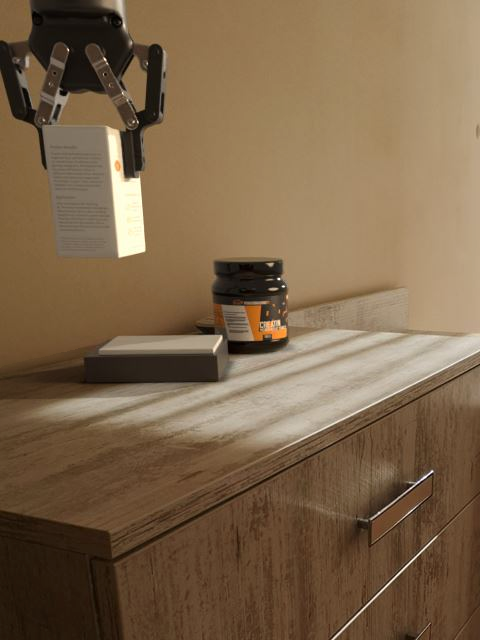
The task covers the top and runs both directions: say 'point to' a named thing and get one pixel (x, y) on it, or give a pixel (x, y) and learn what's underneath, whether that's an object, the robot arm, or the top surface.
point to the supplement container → (251, 304)
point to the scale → (158, 359)
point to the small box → (92, 193)
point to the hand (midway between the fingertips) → (95, 176)
